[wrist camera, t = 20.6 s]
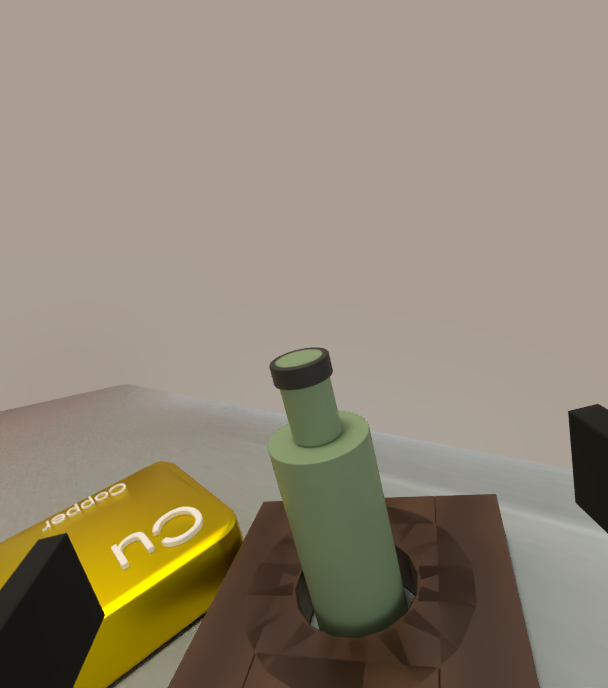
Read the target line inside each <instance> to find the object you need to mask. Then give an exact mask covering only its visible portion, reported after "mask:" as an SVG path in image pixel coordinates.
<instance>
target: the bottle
mask: <svg viewBox="0 0 608 688" xmlns="http://www.w3.org/2000/svg"><path fill="white" fill-rule="evenodd" d="M270 371H271V375H272V378H273V381H274V385H275V386H276V388H278V389H280V391H281V395H282V399H283V403H284V406H285V410H286V414H287V417H288V421H289V423H288V424H287V425H285V426H284V427H282V428H281V429H279V430H278V431H277V432H276V433H275V434H274V435H273V437H272V438H271V440H270V442H269V445H268V451H269V455H270V458H271V462H272V465H273V469H274V472H275V476H276V479H277V483H278V486H279V490H280V493H281V497H282V500H283V504H284V507H285V511H286V514H287V517H288V521H289V524H290V528H291V531H292V535H293V538H294V542H295V545H296V549H297V552H298V556H299V559H300V563H301V566H302V570H303V573H304V577H305V580H306V583H307V587H308V590H309V594H310V597H311V601H312V604H313V608H314V611H315V615H316V618H317V622H318V625H319V629H320V631H322V632H324V633H326V634H328V635H330V636H332V637H344V638H361V637H364V636H367V635H371V634H374V633H377V632H380V631H383V630H386V629H387V628H389V627H390V626H391V625H393V624H394V623H395V622H396V621H398V620H399V619H400V618H401V617H403V616H404V615H405V614H406V613H407V611H408V606H407V601H406V597H405V592H404V587H403V583H402V578H401V573H400V569H399V564H398V559H397V555H396V550H395V545H394V540H393V536H392V531H391V526H390V522H389V517H388V512H387V508H386V503H385V498H384V494H383V489H382V484H381V480H380V475H379V470H378V466H377V461H376V456H375V452H374V447H373V442H372V438H371V433H370V428H369V424H368V422H367V421H366V420H365V419H364V418H363V417H362V416H360V415H358V414H355V413H352V412H347V411H338V410H337V406H336V402H335V397H334V393H333V389H332V385H331V380H330V376H331V374H332V372H333V370H332V365H331V361H330V356H329V352H328V351H327V350H326V349H324V348H305V349H300V350H295V351H292V352H289V353H286V354H284V355H281V356H279V357H278V358H276V359H274V360H273V361H272V362H271V363H270Z"/></svg>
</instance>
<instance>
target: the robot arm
mask: <svg viewBox="0 0 608 688" xmlns="http://www.w3.org/2000/svg"><path fill="white" fill-rule="evenodd" d="M568 414H569V427H570V440H571V451H572V464H573V477H574V489H575V501H576V503H577V504H578V505H579V506H580V507H581V508H582V509H583V510H584V511H585V512H586V513H587V514H588V515H589V516H590V517H591V518H592V519H593V520H594V521H595V522H596V523H597V524H599V525H600V526H601V527H602V528H603V529H604V530H605V531H606V532H607V533H608V409H606V408H604V407H602V406H601V405H599V404H596V405H592V406H587V407H584V408H579V409H575V410H571V411H568ZM104 617H105V614H104V611H103V609H102V607H101V605H100V603H99V601H98V599H97V596H96V594H95V592H94V590H93V588H92V586H91V583H90V581H89V579H88V577H87V575H86V573H85V571H84V568H83V566H82V564H81V562H80V560H79V558H78V556H77V553H76V551H75V549H74V547H73V545H72V543H71V540H70V538H69V536H68V534H67V533H64V534H59V535H55V536H51V537H47V538H43V539H39V540H38V541H37V542H36V543H35V544H34V546H33V547H32V548H31V550H30V551H29V552H28V554H27V555H26V556H25V558H24V559H23V560H22V562H21V563H20V564H19V566H18V567H17V568H16V570H15V571H14V572H13V574H12V575H11V576H10V577H9V579H8V580H7V581H6V583H5V584H4V585H3V587H2V588H1V589H0V688H73V687H74V684H75V682H76V680H77V678H78V675H79V673H80V671H81V669H82V666H83V664H84V662H85V660H86V657H87V655H88V653H89V651H90V648H91V646H92V644H93V642H94V639H95V637H96V635H97V632H98V630H99V628H100V626H101V623H102V621H103V619H104Z"/></svg>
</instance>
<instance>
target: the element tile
mask: <svg viewBox="0 0 608 688" xmlns="http://www.w3.org/2000/svg"><path fill="white" fill-rule="evenodd" d="M64 533H67V534H68V536H69V538H70V540H71V543H72V545H73V547H74V549H75V551H76V553H77V556H78V558H79V560H80V562H81V564H82V566H83V568H84V571H85V573H86V575H87V577H88V579H89V581H90V583H91V586H92V588H93V590H94V592H95V594H96V596H97V599H98V601H99V603H100V605H101V607H102V609H103V611H104V614H105V617H104V619H103V621H102V623H101V626H100V628H99V630H98V632H97V635H96V637H95V639H94V642H93V644H92V646H91V648H90V651H89V653H88V655H87V657H86V660H85V662H84V664H83V666H82V669H81V671H80V673H79V675H78V678H77V680H76V682H75V684H74V687H73V688H107V687H108V686H109V685H111V684H112V683H113V682H115V681H116V680H117V679H119V678H120V677H121V676H123V675H124V674H125V673H127V672H128V671H129V670H130V669H132V668H133V667H134V666H136V665H137V664H138V663H140V662H141V661H142V660H144V659H145V658H146V657H148V656H149V655H150V654H152V653H153V652H154V651H155V650H157V649H158V648H159V647H161V646H162V645H163V644H165V643H166V642H167V641H169V640H170V639H171V638H173V637H174V636H175V635H176V634H178V633H179V632H180V631H182V630H183V629H184V628H186V627H187V626H188V625H190V624H191V623H192V622H194V621H195V620H196V619H197V618H199V617H200V616H201V615H203V614H204V613H205V612H207V611H208V609H209V607H210V605H211V603H212V601H213V599H214V597H215V595H216V593H217V591H218V589H219V587H220V585H221V583H222V582H223V580H224V578H225V576H226V574H227V572H228V570H229V568H230V566H231V564H232V562H233V560H234V558H235V556H236V554H237V553H238V551H239V549H240V547H241V545H242V543H243V541H244V539H243V536H242V533H241V530H240V527H239V524H238V521H237V517H236V515H235V513H234V511H233V510H232V509H230V508H229V507H228V506H227V505H225V504H224V503H223V502H222V501H220V500H219V499H218V498H217V497H215V496H214V495H213V494H212V493H210V492H209V491H208V490H207V489H205V488H204V487H203V486H202V485H200V484H199V483H198V482H197V481H195V480H194V479H193V478H192V477H190V476H189V475H188V474H187V473H185V472H184V471H183V470H182V469H180V468H179V467H178V466H177V465H175V464H173V463H170V462H164V461H160V462H157V463H155V464H152V465H150V466H148V467H146V468H144V469H142V470H140V471H138V472H136V473H134V474H132V475H130V476H128V477H126V478H124V479H122V480H120V481H119V482H117V483H115V484H113V485H111V486H109V487H107V488H105V489H103V490H101V491H99V492H97V493H95V494H93V495H92V496H90V497H88V498H86V499H84V500H82V501H80V502H78V503H76V504H74V505H72V506H70V507H68V508H66V509H64V510H63V511H61V512H59V513H57V514H55V515H53V516H51V517H49V518H47V519H45V520H43V521H41V522H39V523H37V524H36V525H34V526H32V527H30V528H28V529H26V530H24V531H22V532H20V533H18V534H16V535H14V536H12V537H10V538H9V539H7V540H5V541H3V542H2V543H0V589H1V588H2V587H3V585H4V584H5V583H6V581H7V580H8V579H9V577H10V576H11V575H12V574H13V572H14V571H15V570H16V568H17V567H18V566H19V564H20V563H21V562H22V560H23V559H24V558H25V556H26V555H27V554H28V552H29V551H30V550H31V548H32V547H33V546H34V544H35V543H36V542H37V541H38V540H39V539H43V538H47V537H51V536H55V535H59V534H64Z"/></svg>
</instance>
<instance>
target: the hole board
mask: <svg viewBox="0 0 608 688" xmlns="http://www.w3.org/2000/svg"><path fill="white" fill-rule="evenodd" d="M385 503H386V508H387V512H388V517H389V522H390V526H391V531H392V536H393V540H394V545H395V550H396V555H397V559H398V564H399V569H400V573H401V578H402V583H403V585H404V586H406V587H407V588H408V589H409V590H410V591H411V592H412V593H413V594H415V595H416V596H415V598H414V600H413V602H412V604H411V605H410V607H409V609H408V611H407V613H406V614H405V615H404V616H403V617H401V618H400V619H399V620H398V621H396V622H395V623H394V624H393V625H391V626H390V627H389V628H387V629H386V630H383V631H380V632H377V633H374V634H371V635H367V636H364V637H361V638H344V637H332V636H330V635H328V634H326V633H324V632H322V631H320V630H318V629H316V628H314V627H312V626H311V625H310V624H309V623H310V619H311V615H312V612H313V610H314V608H313V604H312V601H311V597H310V594H309V590H308V587H307V583H306V580H305V577H304V573H303V570H302V566H301V563H300V559H299V556H298V552H297V549H296V545H295V542H294V538H293V535H292V531H291V528H290V524H289V521H288V517H287V514H286V511H285V507H284V504H283V501H271V502H263V504H262V506H261V508H260V510H259V512H258V514H257V516H256V518H255V520H254V522H253V523H252V525H251V527H250V529H249V531H248V533H247V535H246V537H245V539H244V541H243V543H242V545H241V547H240V549H239V551H238V553H237V554H236V556H235V558H234V560H233V562H232V564H231V566H230V568H229V570H228V572H227V574H226V576H225V578H224V580H223V582H222V583H221V585H220V587H219V589H218V591H217V593H216V595H215V597H214V599H213V601H212V603H211V605H210V607H209V609H208V611H207V613H206V614H205V616H204V618H203V620H202V622H201V624H200V626H199V628H198V630H197V632H196V634H195V636H194V638H193V640H192V642H191V644H190V645H189V647H188V649H187V651H186V653H185V655H184V657H183V659H182V661H181V663H180V665H179V667H178V669H177V671H176V673H175V675H174V676H173V678H172V680H171V682H170V684H169V686H168V688H540V687H539V683H538V679H537V674H536V670H535V665H534V661H533V656H532V652H531V647H530V643H529V638H528V634H527V629H526V625H525V621H524V616H523V612H522V607H521V603H520V598H519V594H518V589H517V585H516V580H515V576H514V571H513V567H512V563H511V558H510V554H509V549H508V545H507V540H506V536H505V531H504V527H503V522H502V518H501V513H500V509H499V505H498V500H497V496H496V494H484V495H454V496H435V497H434V496H423V497H393V498H385Z"/></svg>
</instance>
